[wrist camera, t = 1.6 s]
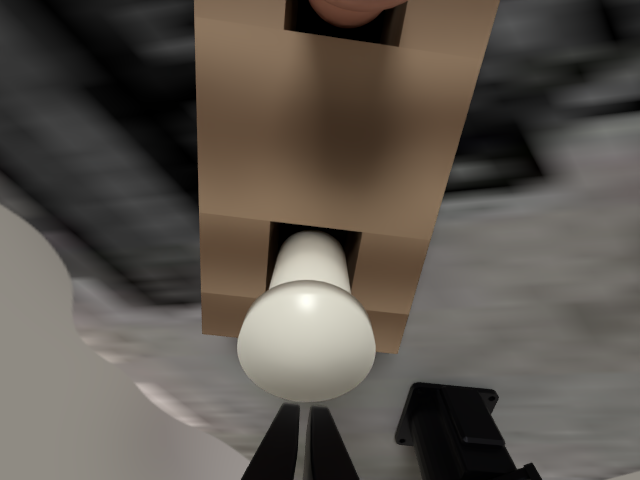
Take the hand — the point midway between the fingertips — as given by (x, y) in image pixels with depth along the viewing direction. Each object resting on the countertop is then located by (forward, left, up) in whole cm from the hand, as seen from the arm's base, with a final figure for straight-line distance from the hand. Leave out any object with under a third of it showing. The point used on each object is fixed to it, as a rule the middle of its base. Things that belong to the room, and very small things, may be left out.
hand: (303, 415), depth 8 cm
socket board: (+6, 0, -12) cm, 14 cm away
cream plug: (0, 0, -8) cm, 8 cm away
